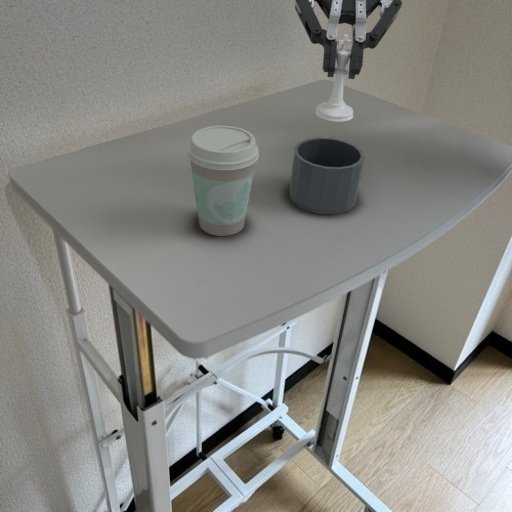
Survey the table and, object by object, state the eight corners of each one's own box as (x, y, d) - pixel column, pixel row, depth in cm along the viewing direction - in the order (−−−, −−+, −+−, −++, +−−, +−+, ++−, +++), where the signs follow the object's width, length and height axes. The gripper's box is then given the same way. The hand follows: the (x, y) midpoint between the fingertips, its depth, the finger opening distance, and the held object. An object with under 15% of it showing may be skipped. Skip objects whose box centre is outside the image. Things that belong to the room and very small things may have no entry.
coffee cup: (193, 245, 67) (191, 156, 60) (185, 209, 74) (182, 125, 67) (261, 239, 69) (267, 152, 62) (247, 204, 76) (251, 122, 69)
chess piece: (310, 107, 73) (320, 29, 67) (345, 106, 74) (357, 28, 68) (322, 122, 69) (333, 41, 63) (358, 121, 70) (373, 40, 64)
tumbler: (350, 182, 82) (358, 139, 78) (360, 216, 75) (369, 170, 71) (288, 179, 82) (292, 136, 78) (291, 213, 75) (296, 167, 70)
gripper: (298, -81, 66) (285, 55, 63) (415, -73, 65) (406, 64, 63) (295, -39, 73) (284, 84, 71) (400, -31, 72) (392, 93, 70)
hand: (341, 74), depth 67 cm, fingers closed on chess piece
